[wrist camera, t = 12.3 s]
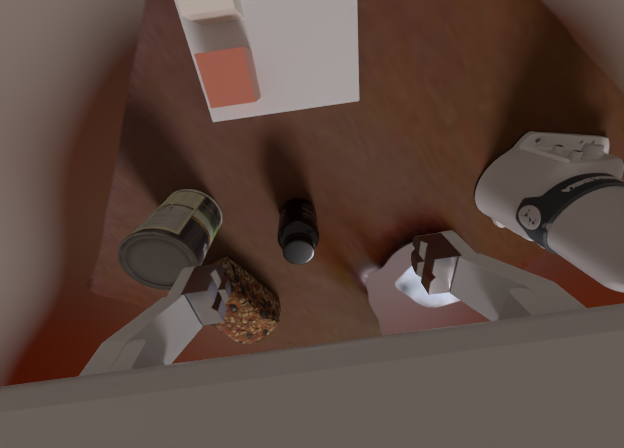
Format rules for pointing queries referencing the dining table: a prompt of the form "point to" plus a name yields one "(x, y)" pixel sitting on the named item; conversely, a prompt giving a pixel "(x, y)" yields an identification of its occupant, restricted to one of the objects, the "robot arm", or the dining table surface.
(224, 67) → the salmon red cube
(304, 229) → the supplement bottle
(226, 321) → the bread
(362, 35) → the dining table surface
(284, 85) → the plate
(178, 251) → the coffee can
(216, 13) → the pale grey cube
